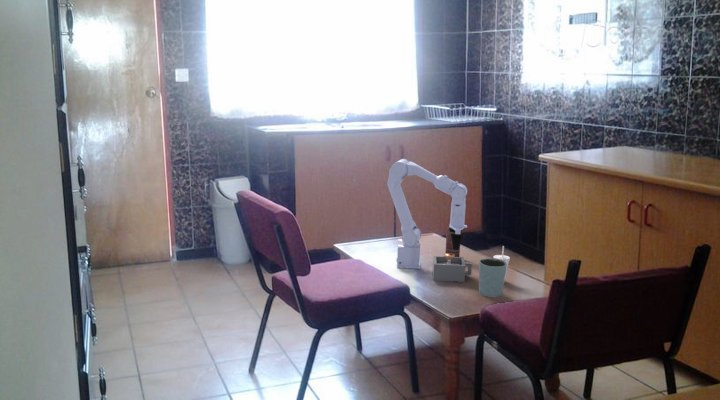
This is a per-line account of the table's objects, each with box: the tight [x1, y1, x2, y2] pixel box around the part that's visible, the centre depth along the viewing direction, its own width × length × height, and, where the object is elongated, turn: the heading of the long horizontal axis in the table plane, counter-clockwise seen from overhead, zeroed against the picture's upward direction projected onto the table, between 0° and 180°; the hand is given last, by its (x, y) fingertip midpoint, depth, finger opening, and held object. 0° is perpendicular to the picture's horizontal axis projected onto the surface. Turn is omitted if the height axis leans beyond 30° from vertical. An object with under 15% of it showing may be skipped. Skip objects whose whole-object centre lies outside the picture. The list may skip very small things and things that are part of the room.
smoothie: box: [492, 245, 511, 283], centre depth 283 cm, size 6×6×14 cm
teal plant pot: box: [478, 258, 508, 298], centre depth 268 cm, size 10×10×12 cm
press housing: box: [432, 255, 473, 283], centre depth 287 cm, size 15×12×6 cm
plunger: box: [437, 253, 460, 265], centre depth 287 cm, size 9×9×5 cm
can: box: [444, 224, 461, 257], centre depth 314 cm, size 6×6×14 cm
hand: (455, 247), depth 294 cm, fingers open, 7 cm apart
